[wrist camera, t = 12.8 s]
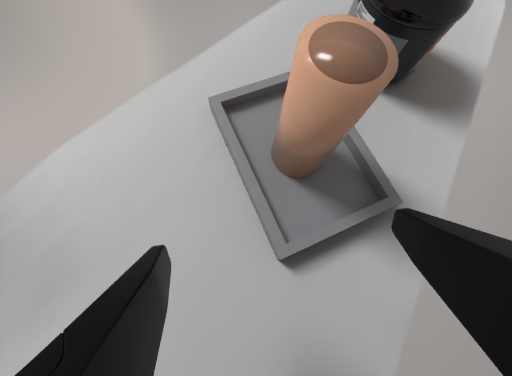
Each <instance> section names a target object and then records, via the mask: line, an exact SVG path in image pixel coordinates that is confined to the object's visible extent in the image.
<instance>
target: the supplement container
mask: <svg viewBox="0 0 512 376" xmlns="http://www.w3.org/2000/svg"><path fill="white" fill-rule="evenodd" d="M473 1H474V0H354V1H353V4H352V6H351V8H350V11H349V13H348V15H349V16H354V17H358V18H361V19H364V20H366V21H368V22H370V23H372V24H374V25H375V26H377V27H378V28H380V29H381V30H382V31H383V32H384V33H385V34H386V35H387V36H388V37H389V38H390V39H391V41H392V42H393V44H394V46H395V48H396V50H397V54H398V68H397V72H396V74H395V76H394V77H393V79H392V80H391V81H390V82H389V84H392V83H396V82H399V81H401V80H403V79H405V78H406V77H408V76H409V75H410V74H411V73H412V72H413V71H414V70H415V69H416V68H417V66H418V64H419V63H420V62H421V61H422V60H423V59H424V58H425V57H426V55H427V54H428V53H429V52H430V51H431V50H432V49H433V48H434V46H435V45H436V44H437V43H438V42H439V41H440V40H441V38H442V37H443V36H444V35H445V34H446V33H447V32H448V31H449V29H450V28H451V27H452V26H453V25H454V24H455V23H456V22H457V21H458V20H460V19H461V18H462V17H463V16H464V15H465V14H466V12H467V11H468V10H469V9H470V7H471V5H472V4H473Z"/></svg>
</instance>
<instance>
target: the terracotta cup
mask: <svg viewBox="0 0 512 376" xmlns="http://www.w3.org/2000/svg"><path fill="white" fill-rule="evenodd" d="M397 68H398V54H397V50H396V48H395V46H394V44H393V42H392V41H391V39H390V38H389V37H388V36H387V35H386V34H385V33H384V32H383V31H382V30H381V29H380V28H378V27H377V26H375V25H374V24H372V23H370V22H368V21H366V20H364V19H361V18H358V17H354V16H349V15H329V16H324V17H321V18H318V19H316V20H314V21H312V22H311V23H309V24H308V25H307V26H306V27H305V28H304V29H303V31H302V32H301V34H300V36H299V39H298V43H297V47H296V51H295V55H294V59H293V63H292V67H291V71H290V75H289V80H288V84H287V88H286V92H285V96H284V100H283V104H282V108H281V112H280V116H279V120H278V124H277V128H276V132H275V136H274V140H273V144H272V148H271V157H272V161H273V163H274V165H275V166H276V168H277V169H278V170H279V171H280V172H281V173H283V174H284V175H286V176H289V177H292V178H306V177H309V176H311V175H313V174H315V173H316V172H317V171H318V170H319V168H320V167H321V166H322V165H323V164H324V162H325V161H326V160H327V159H328V157H329V156H330V155H331V154H332V152H333V151H334V150H335V149H336V148H337V146H338V145H339V144H340V143H341V141H342V140H343V139H344V138H345V137H346V135H347V134H348V133H349V132H350V130H351V129H352V128H353V127H354V125H355V124H356V123H357V122H358V121H359V119H360V118H361V117H362V116H363V114H364V113H365V112H366V111H367V110H368V108H369V107H370V106H371V105H372V103H373V102H374V101H375V100H376V98H377V97H378V96H379V95H380V94H381V92H382V91H383V90H384V89H385V87H386V86H387V85H388V84H389V82H390V81H391V80H392V79H393V77H394V76H395V74H396V72H397Z"/></svg>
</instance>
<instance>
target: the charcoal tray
mask: <svg viewBox="0 0 512 376" xmlns="http://www.w3.org/2000/svg"><path fill="white" fill-rule="evenodd" d="M289 75H290V72H287V73H284V74H281V75H278V76H275V77H272V78H268V79H265V80H262V81H259V82H256V83H253V84H250V85H246V86H243V87H240V88H237V89H234V90H231V91H228V92H224V93H221V94H218V95H215V96H212V97H209V98H208V99H209V104H210V108H211V111H212V114H213V116H214V118H215V120H216V122H217V125H218V127H219V129H220V131H221V134H222V136H223V138H224V140H225V143H226V145H227V147H228V149H229V152H230V154H231V156H232V158H233V161H234V163H235V165H236V167H237V170H238V172H239V174H240V176H241V179H242V181H243V183H244V185H245V188H246V190H247V192H248V194H249V197H250V199H251V201H252V203H253V205H254V208H255V210H256V212H257V214H258V217H259V219H260V221H261V223H262V226H263V228H264V230H265V232H266V235H267V237H268V239H269V241H270V244H271V246H272V248H273V250H274V253H275V255H276V257H277V259H278V260H281V259H284V258H286V257H288V256H290V255H292V254H294V253H296V252H298V251H301V250H303V249H305V248H307V247H309V246H311V245H313V244H315V243H318V242H320V241H322V240H324V239H326V238H328V237H330V236H332V235H334V234H337V233H339V232H341V231H343V230H345V229H347V228H349V227H351V226H354V225H356V224H358V223H360V222H362V221H364V220H366V219H368V218H370V217H373V216H375V215H377V214H379V213H381V212H383V211H385V210H387V209H390V208H392V207H394V206H396V205H398V204H400V203H402V200H401V199H400V197H399V196H398V194H397V192H396V191H395V189H394V188H393V186H392V185H391V183H390V181H389V180H388V178H387V177H386V175H385V174H384V172H383V170H382V169H381V167H380V166H379V164H378V163H377V161H376V160H375V158H374V156H373V155H372V153H371V152H370V150H369V149H368V147H367V145H366V144H365V142H364V141H363V139H362V138H361V136H360V134H359V133H358V131H357V130H356V128H355V127H353V128H352V129H351V130H350V132H349V133H348V134H347V135H346V137H345V138H344V139H343V140H342V141H341V143H340V144H339V145H338V146H337V148H336V149H335V150H334V151H333V152H332V154H331V155H330V156H329V157H328V159H327V160H326V161H325V162H324V164H323V165H322V166H321V167H320V168H319V170H318V171H317V172H316V173H315V174H313V175H311V176H309V177H306V178H292V177H289V176H286V175H284V174H283V173H281V172H280V171H279V170H278V169H277V168H276V166H275V165H274V163H273V161H272V157H271V148H272V144H273V140H274V136H275V132H276V128H277V124H278V120H279V116H280V112H281V108H282V104H283V100H284V96H285V92H286V88H287V84H288V80H289Z"/></svg>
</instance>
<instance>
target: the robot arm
mask: <svg viewBox="0 0 512 376" xmlns="http://www.w3.org/2000/svg"><path fill="white" fill-rule="evenodd" d="M392 231H393V233H394V235H395V236H396V238H397V239H398V241H399V242H400V244H401V245H402V247H403V248H404V250H405V251H406V253H407V254H408V256H409V257H410V259H411V260H412V262H413V263H414V265H415V266H416V267H417V269H418V270H419V271H420V272H421V274H422V275H423V276H424V277H425V279H426V280H427V281H428V282H429V284H430V285H431V286H432V287H433V289H434V290H435V291H436V292H437V293H438V295H439V296H440V297H441V298H442V300H443V301H444V302H445V304H446V305H447V306H448V307H449V309H450V310H451V311H452V312H453V314H454V315H455V316H456V317H457V318H458V320H459V321H460V322H461V323H462V325H463V326H464V327H465V328H466V330H467V331H468V332H469V333H470V335H471V336H472V337H473V338H474V340H475V341H476V342H477V343H478V345H479V346H480V347H481V348H482V350H483V351H484V352H485V353H486V355H487V356H488V357H489V358H490V360H491V361H492V362H493V363H494V365H495V366H496V367H497V368H498V370H499V371H500V372H501V373H502V375H503V376H512V241H511V240H507V239H504V238H501V237H498V236H495V235H492V234H489V233H485V232H482V231H479V230H475V229H472V228H469V227H466V226H463V225H460V224H457V223H453V222H450V221H447V220H444V219H441V218H438V217H435V216H431V215H428V214H425V213H422V212H419V211H415V210H412V209H409V208H403V209H398V210H396V211H395V214H394V218H393V222H392ZM170 276H171V261H170V258H169V255H168V252H167V249H166V247H165V245H158V246H153V247H151V248H150V249H149V250H148V251H147V252H146V253H145V254H144V255H143V256H142V257H141V258H140V259H139V260H138V261H136V262H135V263H134V264H133V265H132V266H131V267H130V268H129V269H128V270H127V271H126V272H125V273H124V274H123V275H122V276H121V277H120V278H119V279H117V280H116V281H115V282H114V283H113V284H112V285H111V286H110V287H109V288H108V289H107V290H106V291H105V292H104V293H103V294H102V295H101V296H100V297H98V298H97V299H96V300H95V301H94V302H93V303H92V304H91V305H90V306H89V307H88V308H87V309H86V310H85V311H84V312H83V313H82V314H81V315H79V316H78V317H77V318H76V319H75V320H74V321H73V322H72V323H71V324H70V325H69V326H68V327H67V328H66V329H65V330H64V331H63V333H60V334H59V335H58V336H57V337H56V338H55V339H54V340H53V341H52V342H51V343H50V344H49V345H48V346H47V347H45V348H44V349H43V350H42V351H41V352H40V353H39V354H38V355H37V356H36V357H35V358H34V359H32V360H31V361H30V362H29V363H28V364H27V365H26V366H25V367H24V368H23V369H21V370H20V371H19V372H18V373H17V374H16V375H15V376H153V375H154V370H155V366H156V361H157V356H158V351H159V347H160V342H161V337H162V332H163V327H164V323H165V318H166V313H167V307H168V297H169V287H170Z"/></svg>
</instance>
